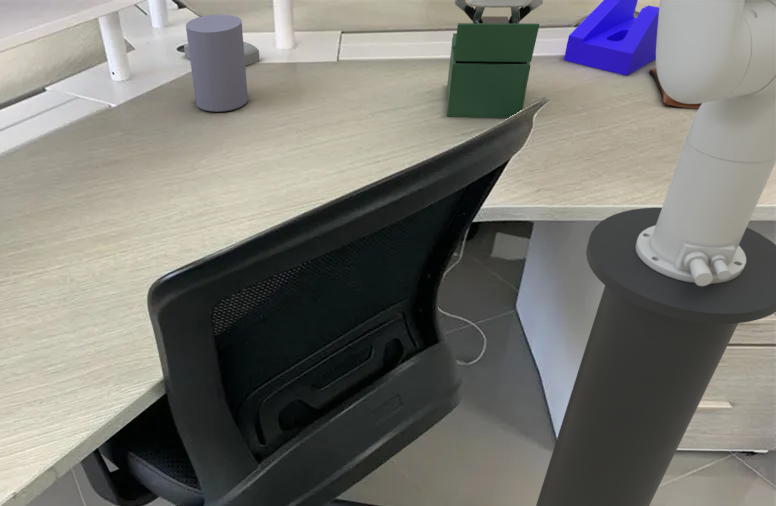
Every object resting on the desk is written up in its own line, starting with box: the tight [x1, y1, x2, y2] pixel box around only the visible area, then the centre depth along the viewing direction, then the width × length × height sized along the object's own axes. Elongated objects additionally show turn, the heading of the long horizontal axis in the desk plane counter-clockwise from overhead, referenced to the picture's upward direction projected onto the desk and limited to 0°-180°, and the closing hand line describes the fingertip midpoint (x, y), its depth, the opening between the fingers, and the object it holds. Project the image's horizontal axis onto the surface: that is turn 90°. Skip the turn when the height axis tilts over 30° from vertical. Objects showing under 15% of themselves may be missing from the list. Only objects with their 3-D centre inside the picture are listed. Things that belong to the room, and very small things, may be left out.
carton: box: [446, 32, 531, 119], centre depth 129 cm, size 14×13×10 cm
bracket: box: [563, 0, 659, 77], centre depth 144 cm, size 21×14×10 cm, turn 132°
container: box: [185, 14, 249, 113], centre depth 134 cm, size 10×10×15 cm
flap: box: [453, 22, 540, 63], centre depth 118 cm, size 7×13×1 cm
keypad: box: [183, 41, 261, 67], centre depth 156 cm, size 10×4×15 cm
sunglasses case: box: [649, 67, 702, 110], centre depth 131 cm, size 18×7×7 cm
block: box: [481, 15, 510, 23], centre depth 121 cm, size 4×4×4 cm
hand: (492, 44), depth 122 cm, fingers closed on block, 4 cm apart
